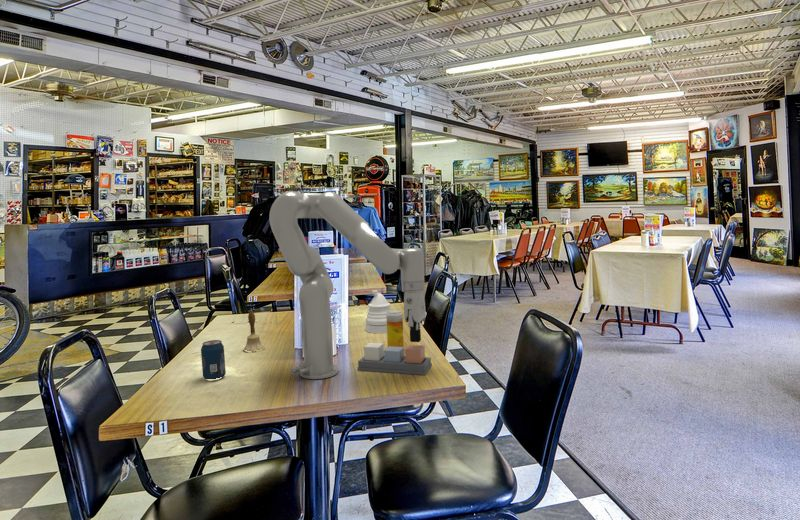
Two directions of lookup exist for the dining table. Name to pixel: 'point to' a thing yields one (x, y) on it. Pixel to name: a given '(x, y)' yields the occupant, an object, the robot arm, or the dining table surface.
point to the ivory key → (374, 351)
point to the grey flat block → (395, 366)
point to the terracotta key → (415, 354)
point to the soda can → (213, 359)
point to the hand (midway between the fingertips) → (415, 341)
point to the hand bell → (253, 335)
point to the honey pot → (377, 314)
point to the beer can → (395, 328)
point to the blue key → (394, 354)
